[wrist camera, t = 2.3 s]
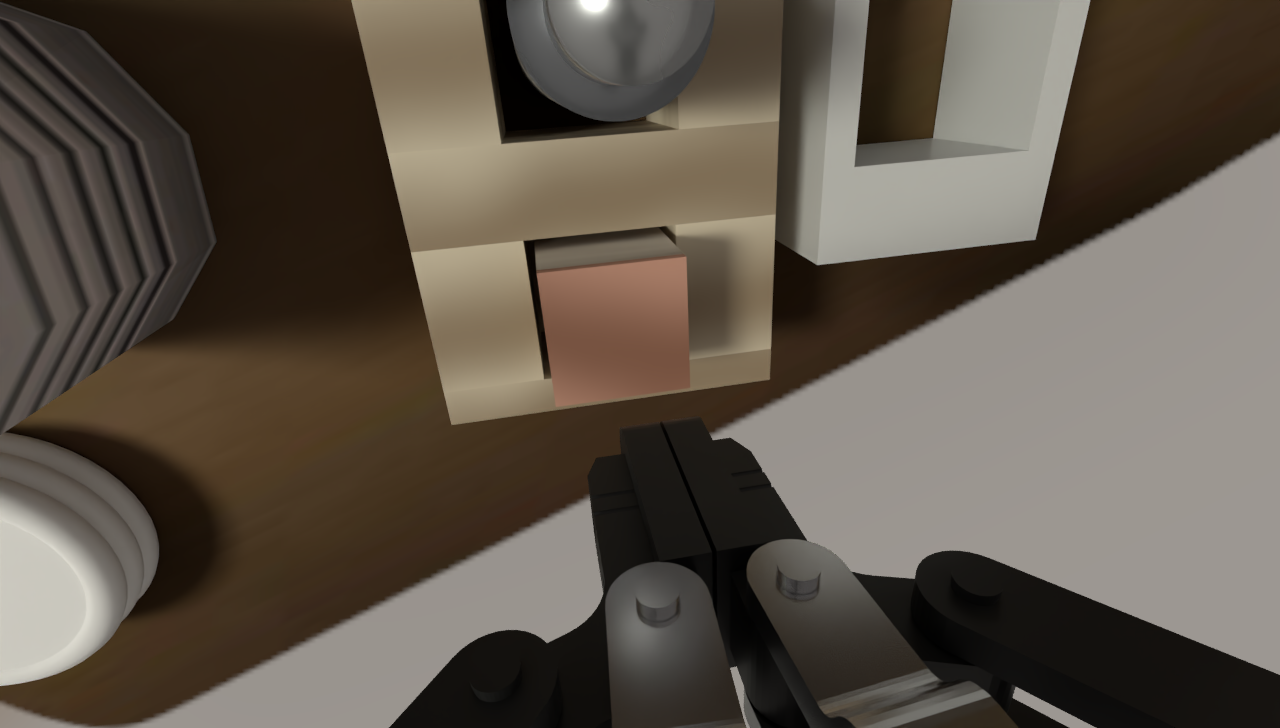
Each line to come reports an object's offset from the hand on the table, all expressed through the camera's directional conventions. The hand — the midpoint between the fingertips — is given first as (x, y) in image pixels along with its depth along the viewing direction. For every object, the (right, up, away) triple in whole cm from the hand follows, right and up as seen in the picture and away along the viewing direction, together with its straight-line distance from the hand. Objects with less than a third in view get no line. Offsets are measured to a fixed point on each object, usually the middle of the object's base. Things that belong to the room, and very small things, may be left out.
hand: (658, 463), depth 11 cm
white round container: (-25, -5, +13) cm, 29 cm away
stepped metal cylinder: (-3, +13, +9) cm, 16 cm away
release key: (-2, +5, +9) cm, 11 cm away
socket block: (-2, +9, +10) cm, 14 cm away
